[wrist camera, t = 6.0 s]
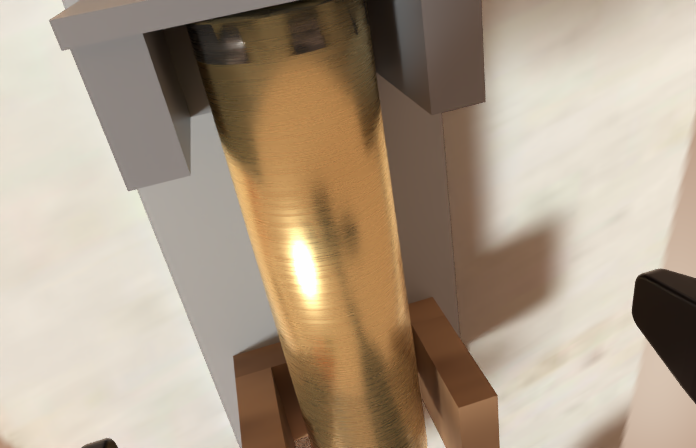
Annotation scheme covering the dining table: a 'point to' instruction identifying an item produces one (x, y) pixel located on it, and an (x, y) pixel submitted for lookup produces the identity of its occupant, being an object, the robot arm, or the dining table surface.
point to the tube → (319, 210)
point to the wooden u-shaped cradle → (434, 380)
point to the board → (236, 250)
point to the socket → (187, 86)
